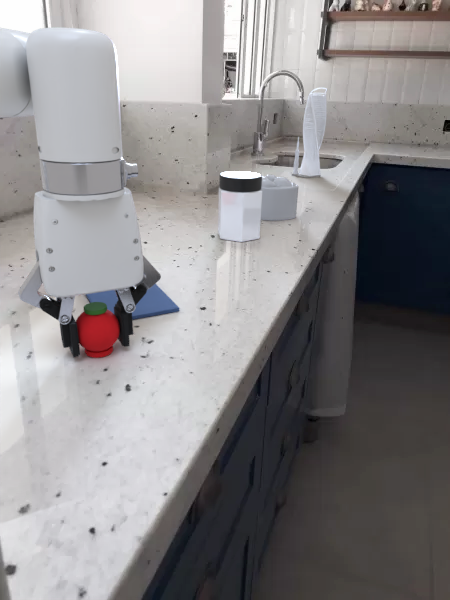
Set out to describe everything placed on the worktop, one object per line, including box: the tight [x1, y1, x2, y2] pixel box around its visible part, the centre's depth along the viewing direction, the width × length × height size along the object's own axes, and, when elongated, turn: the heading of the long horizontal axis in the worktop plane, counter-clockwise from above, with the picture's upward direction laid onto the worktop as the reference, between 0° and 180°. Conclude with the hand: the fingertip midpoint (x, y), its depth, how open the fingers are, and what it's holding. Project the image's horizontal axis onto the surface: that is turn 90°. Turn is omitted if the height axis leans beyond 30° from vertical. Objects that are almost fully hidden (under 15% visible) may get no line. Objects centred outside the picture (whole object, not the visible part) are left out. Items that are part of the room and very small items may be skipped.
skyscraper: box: [291, 86, 328, 179], centre depth 161 cm, size 8×8×28 cm
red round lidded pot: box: [75, 302, 120, 359], centre depth 52 cm, size 5×5×6 cm
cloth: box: [84, 283, 180, 321], centre depth 66 cm, size 10×12×1 cm
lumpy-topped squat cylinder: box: [261, 174, 299, 221], centre depth 111 cm, size 10×13×9 cm
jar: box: [217, 170, 263, 243], centre depth 94 cm, size 9×8×12 cm
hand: (98, 344), depth 53 cm, fingers closed on red round lidded pot, 4 cm apart
